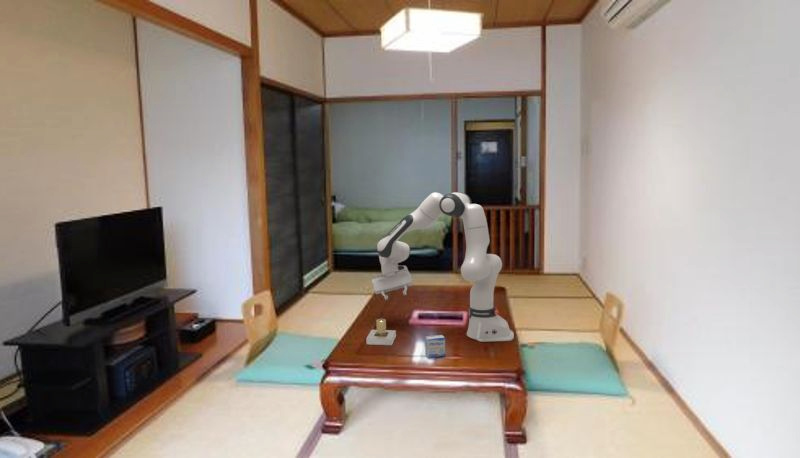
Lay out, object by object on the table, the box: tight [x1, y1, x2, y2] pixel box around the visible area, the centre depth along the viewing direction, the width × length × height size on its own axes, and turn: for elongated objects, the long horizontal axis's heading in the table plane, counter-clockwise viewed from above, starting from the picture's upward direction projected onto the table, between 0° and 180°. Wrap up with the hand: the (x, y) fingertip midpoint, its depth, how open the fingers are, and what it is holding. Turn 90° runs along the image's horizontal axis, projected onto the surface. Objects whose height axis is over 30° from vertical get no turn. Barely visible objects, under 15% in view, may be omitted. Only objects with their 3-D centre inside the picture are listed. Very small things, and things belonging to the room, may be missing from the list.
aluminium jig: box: [365, 329, 397, 346], centre depth 261 cm, size 12×12×3 cm
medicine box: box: [424, 334, 446, 359], centre depth 241 cm, size 8×4×9 cm, turn 105°
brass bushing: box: [375, 318, 387, 337], centre depth 261 cm, size 4×4×10 cm
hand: (395, 296), depth 274 cm, fingers open, 8 cm apart
